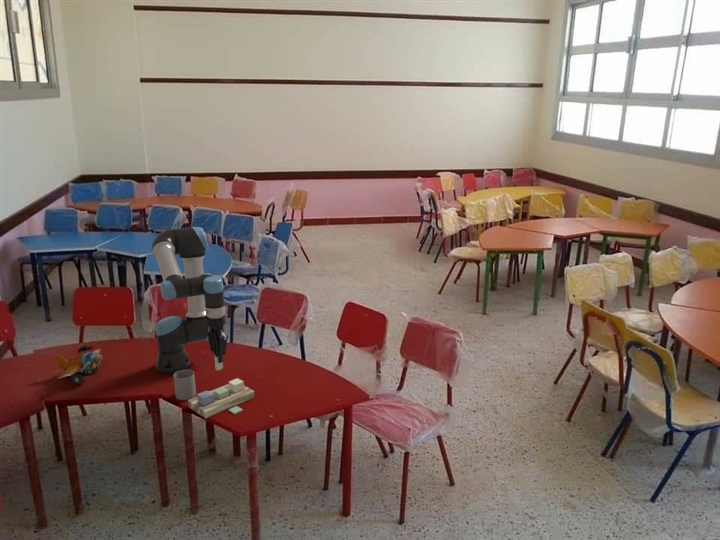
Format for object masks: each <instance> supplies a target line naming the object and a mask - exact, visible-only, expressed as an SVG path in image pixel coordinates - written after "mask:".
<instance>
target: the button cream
mask: <svg viewBox="0 0 720 540" xmlns="http://www.w3.org/2000/svg"><path fill="white" fill-rule="evenodd" d="M228 384H229V391H231V392H233V393H234V394H236V393H238V392H241V391H243V390H244V386H245V383H244V380H241V379H240V378H238V377H237V378H235V379H232V380H229V381H228Z"/></svg>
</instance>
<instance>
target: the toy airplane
mask: <svg viewBox="0 0 720 540" xmlns="http://www.w3.org/2000/svg"><path fill="white" fill-rule="evenodd" d="M101 352H102V348H97V349H95V350H93V345H92V346H91V345H90V346H87V344H86V345H85V344H84V345H82V346H80V347H79V348H78V349H77V353H76V354H75V357H73V356H70V357H68V360H67V359H65V358H64V357H63V356H62V355H60V354H59V353H57V354H53V358H54V360H55V362H56V364H57V366H58V369H57V370H55V371H54V374H56V373H59V372H61V373H62V374H63V375H62V376H59V377H57V380H59V379H63V378H68V377H67V376H69V377H71V382H72V383H73V384H74V385H76V384H80V385H82V384H83V382H84V377H85V375H91V374H92V373H97V372H98V371H99V369H100V368H99V366H100V364H101V362H102V361H103V359H104V358H103V355H101ZM81 383H82V384H81Z"/></svg>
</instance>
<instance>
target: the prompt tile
mask: <svg viewBox="0 0 720 540" xmlns="http://www.w3.org/2000/svg"><path fill="white" fill-rule="evenodd" d="M228 412H230V413H231V414H232V415H236V414H238V413H241V412H243V409H242V408H241V407H239V406H238V405H236V406H234V407H231V408H229V409H228Z"/></svg>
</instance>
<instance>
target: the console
mask: <svg viewBox="0 0 720 540" xmlns="http://www.w3.org/2000/svg"><path fill="white" fill-rule="evenodd" d="M221 387H224V388H226V389H227V390H229V383H228V384H224V385H222V386H220V387H217V388H215V389H213V390H216V389H218V388H221ZM213 390H210V391H209V392H210V393H212V394H213V402H214V403H212V404H210V405H207V406H205V407H202V406H201V405H199V404H198V399H197V396H195V397H193V398H191V399H188V400H187V406H188V408H189V409H191V410H192V411H193V412H195V413H196V414H198V415H200V416H201V417H203V418H204V419H205V420H206V419H208V418H209V419H210V418H211V417H213V416H216V415H217V414H220V413H222V412H224V411H227V410H229V409H231V408H233V407H236V406H238V405H240V404H243V403H245V402H247V401H249V400H251V399H254V398H255V390H253V389H251V388H250V387H248V386H246V385H244V390H243V391H241V392H238V393H236V394H234V393H233V392H231V391H229V397H226V398H224V399H222V400H218V399H216V398H215V397H214V392H213Z"/></svg>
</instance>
